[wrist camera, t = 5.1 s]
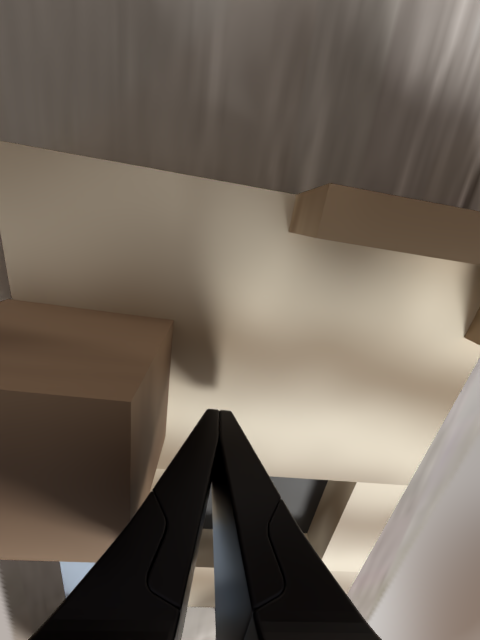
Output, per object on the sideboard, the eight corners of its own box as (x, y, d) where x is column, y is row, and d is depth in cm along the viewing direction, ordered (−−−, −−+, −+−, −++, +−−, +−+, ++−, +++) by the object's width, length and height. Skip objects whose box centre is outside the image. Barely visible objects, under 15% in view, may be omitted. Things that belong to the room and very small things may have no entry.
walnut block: (165, 436, 10) (129, 563, 6) (30, 425, 10) (-95, 556, 6) (173, 320, 8) (130, 401, 5) (7, 299, 8) (-191, 371, 4)
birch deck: (326, 567, 18) (357, 676, 13) (82, 560, 16) (32, 681, 12) (485, 236, 10) (677, 248, 6) (38, 156, 8) (-158, 91, 4)
